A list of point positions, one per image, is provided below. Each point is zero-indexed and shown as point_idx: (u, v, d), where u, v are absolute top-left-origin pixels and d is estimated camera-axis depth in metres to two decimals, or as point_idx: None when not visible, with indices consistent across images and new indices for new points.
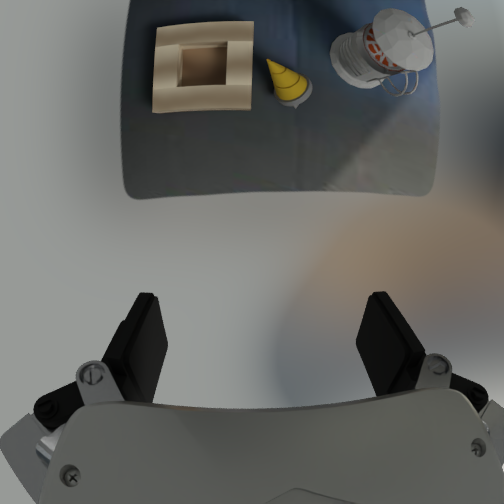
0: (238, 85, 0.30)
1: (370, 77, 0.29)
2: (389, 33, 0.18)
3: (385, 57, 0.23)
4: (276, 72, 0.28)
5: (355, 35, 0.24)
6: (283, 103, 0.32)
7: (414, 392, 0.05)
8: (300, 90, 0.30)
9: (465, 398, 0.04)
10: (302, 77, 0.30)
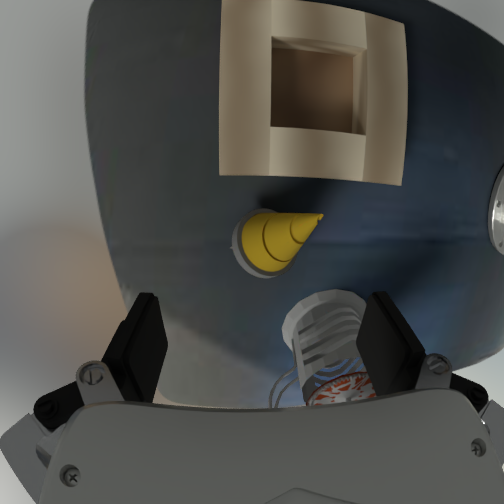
0: (268, 150, 0.17)
1: (296, 356, 0.24)
2: None
3: (328, 396, 0.19)
4: (293, 228, 0.17)
5: None
6: (235, 230, 0.20)
7: (414, 392, 0.05)
8: (261, 263, 0.20)
9: (465, 398, 0.04)
10: (287, 263, 0.21)
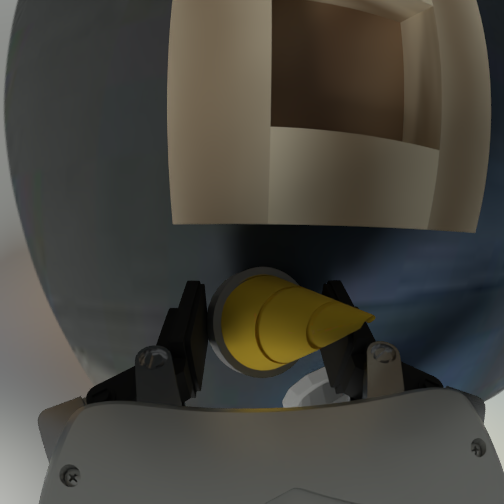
0: (266, 175, 0.09)
1: None
2: None
3: None
4: (313, 332, 0.09)
5: None
6: (211, 309, 0.12)
7: (414, 392, 0.05)
8: (253, 365, 0.11)
9: (465, 398, 0.04)
10: None
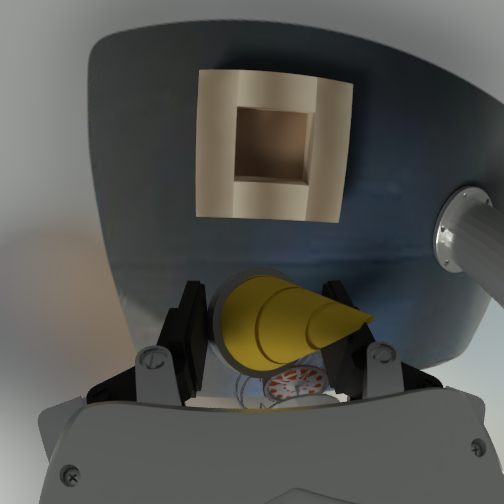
0: (232, 199, 0.24)
1: None
2: None
3: (280, 383, 0.26)
4: (312, 333, 0.09)
5: None
6: (210, 309, 0.12)
7: (414, 392, 0.05)
8: (253, 365, 0.11)
9: (465, 398, 0.04)
10: None
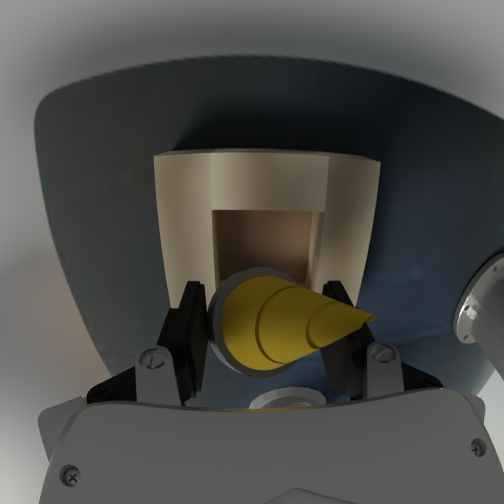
0: None
1: None
2: None
3: None
4: (313, 332, 0.09)
5: None
6: (211, 308, 0.12)
7: (414, 392, 0.05)
8: (253, 365, 0.11)
9: (465, 398, 0.04)
10: None
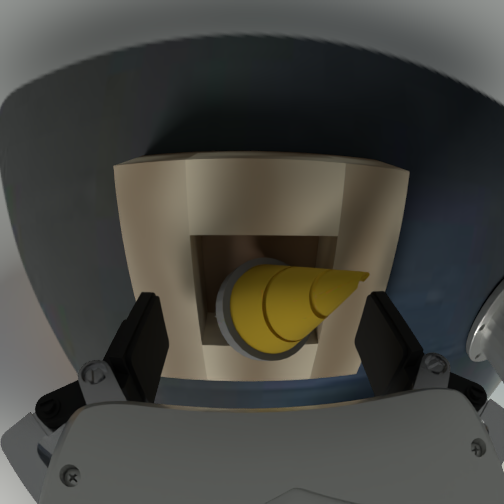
0: (203, 363, 0.15)
1: None
2: None
3: None
4: (315, 296, 0.10)
5: None
6: (220, 293, 0.13)
7: (414, 392, 0.05)
8: (260, 345, 0.12)
9: (465, 398, 0.04)
10: None
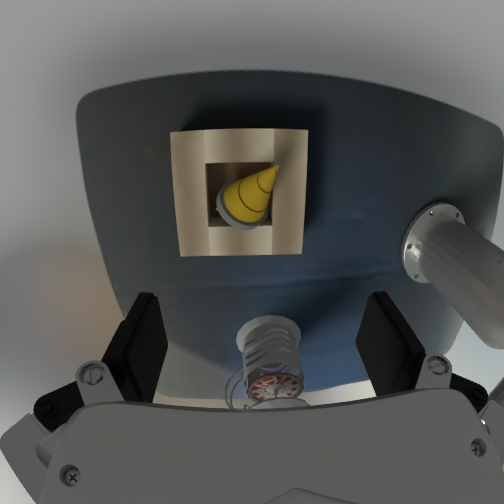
0: (208, 241, 0.28)
1: (243, 360, 0.36)
2: None
3: (261, 387, 0.31)
4: (259, 179, 0.23)
5: (283, 360, 0.31)
6: (219, 193, 0.26)
7: (414, 392, 0.05)
8: (238, 214, 0.25)
9: (465, 398, 0.04)
10: (259, 216, 0.26)
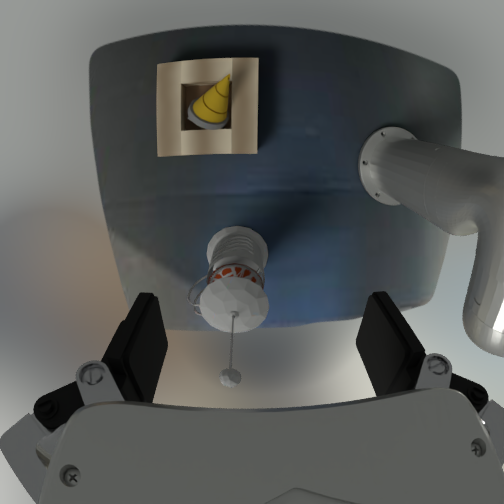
0: (180, 142, 0.33)
1: None
2: (228, 293, 0.30)
3: None
4: (217, 86, 0.27)
5: (243, 255, 0.35)
6: (190, 104, 0.31)
7: (414, 392, 0.05)
8: (202, 115, 0.30)
9: (465, 398, 0.04)
10: (220, 118, 0.31)
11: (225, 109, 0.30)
